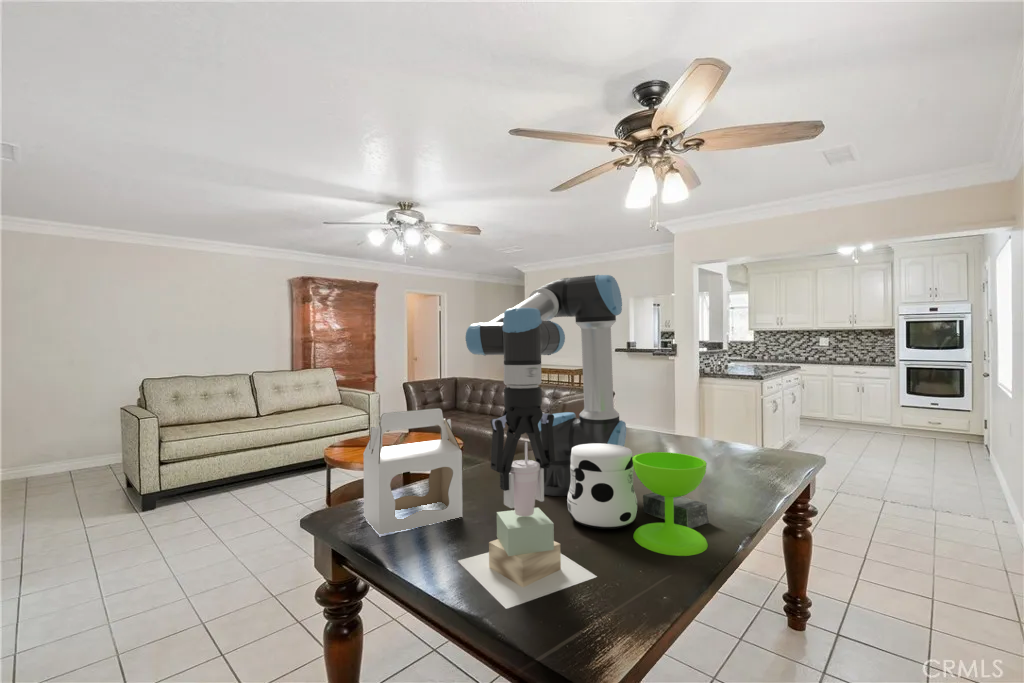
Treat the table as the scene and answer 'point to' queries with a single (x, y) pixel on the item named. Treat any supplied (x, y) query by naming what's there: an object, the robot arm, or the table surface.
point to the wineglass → (670, 501)
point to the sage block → (525, 532)
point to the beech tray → (524, 563)
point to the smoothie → (525, 484)
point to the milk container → (602, 486)
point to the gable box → (412, 457)
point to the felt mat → (515, 594)
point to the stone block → (677, 510)
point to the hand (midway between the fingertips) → (524, 502)
